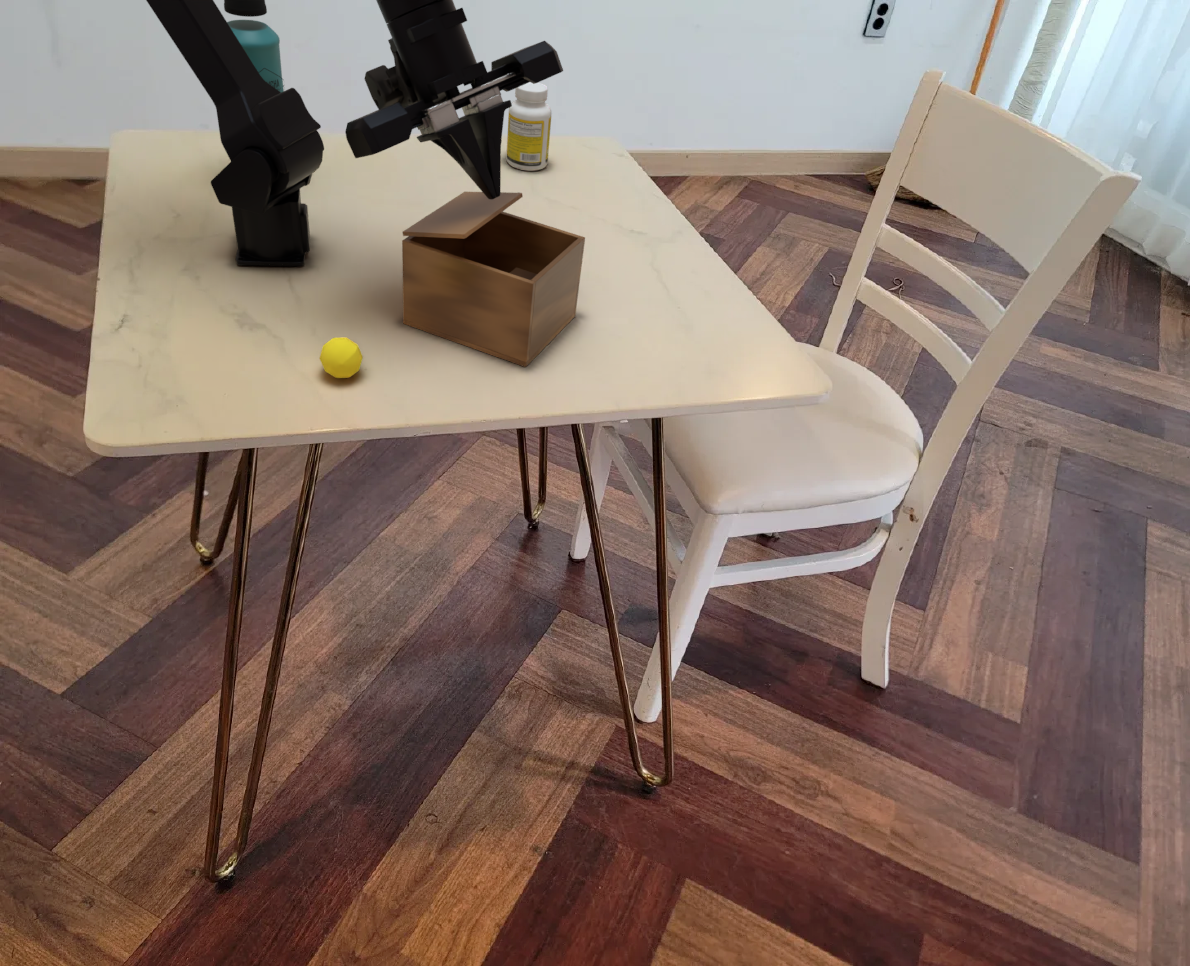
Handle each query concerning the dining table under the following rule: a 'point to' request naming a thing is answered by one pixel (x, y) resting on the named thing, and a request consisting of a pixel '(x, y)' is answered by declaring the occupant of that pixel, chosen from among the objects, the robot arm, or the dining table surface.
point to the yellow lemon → (341, 357)
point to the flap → (462, 215)
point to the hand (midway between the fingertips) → (494, 197)
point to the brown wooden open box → (494, 286)
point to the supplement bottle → (529, 128)
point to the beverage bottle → (257, 39)
